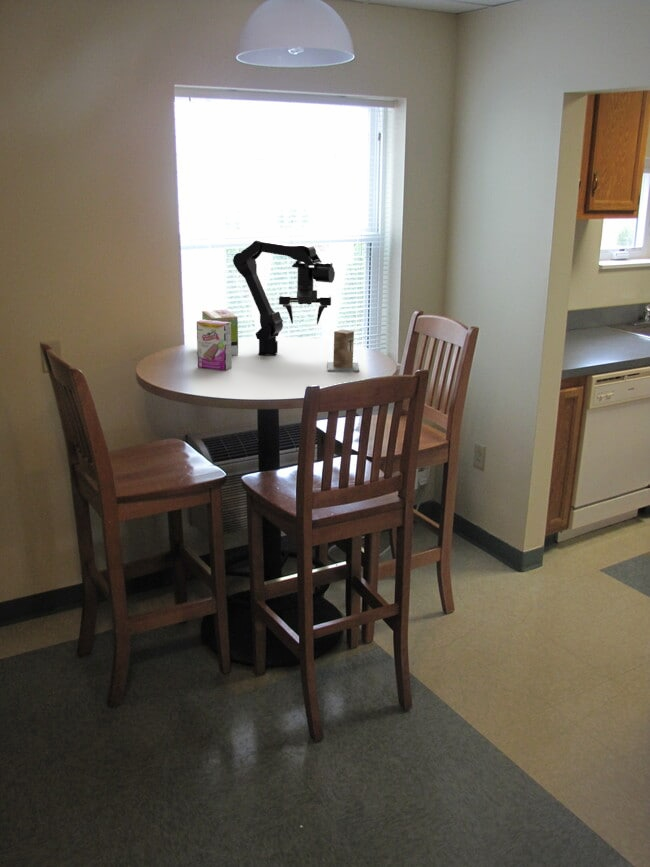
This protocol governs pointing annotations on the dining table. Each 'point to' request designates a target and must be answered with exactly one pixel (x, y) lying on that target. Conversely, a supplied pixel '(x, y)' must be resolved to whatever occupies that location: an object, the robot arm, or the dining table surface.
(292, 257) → the robot arm
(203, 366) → the candy bar box
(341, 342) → the letter block
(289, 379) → the dining table surface
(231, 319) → the tea box
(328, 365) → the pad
